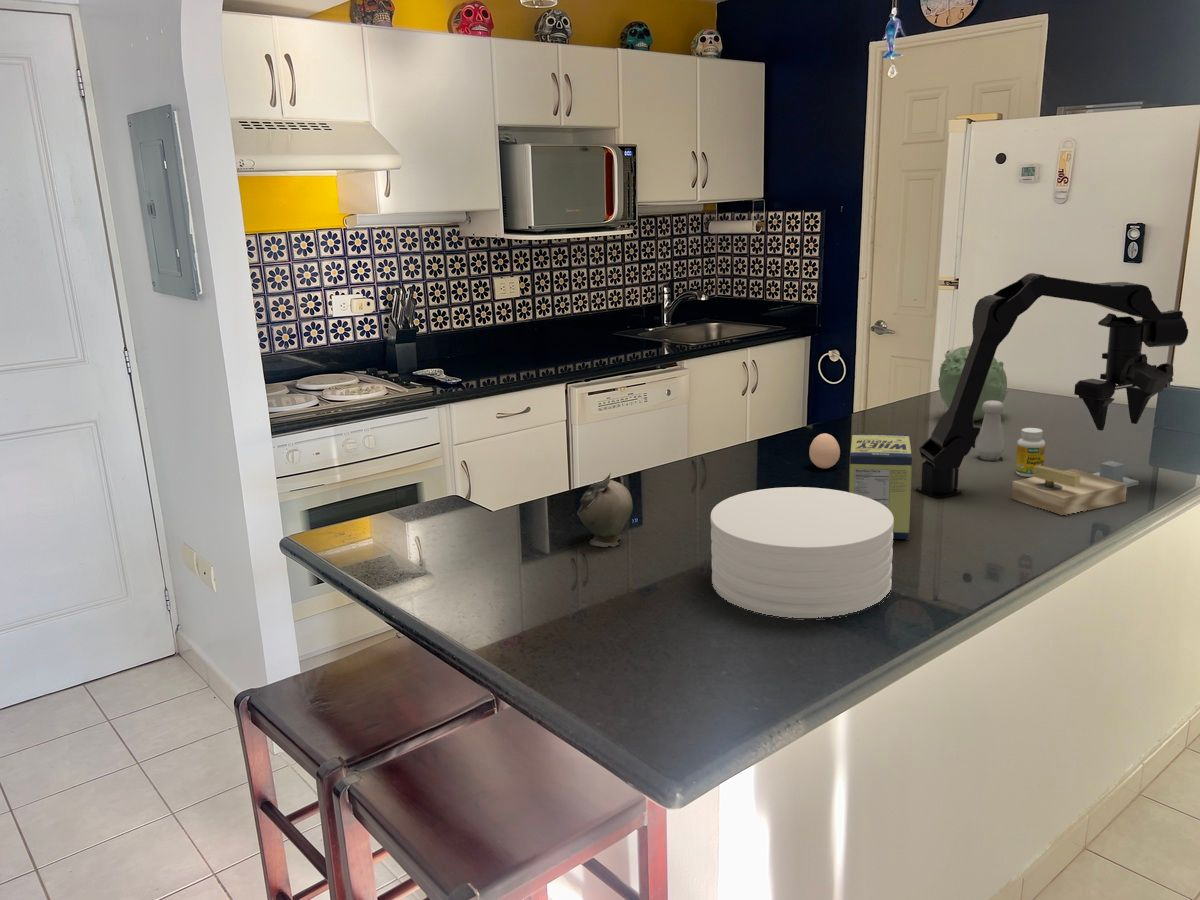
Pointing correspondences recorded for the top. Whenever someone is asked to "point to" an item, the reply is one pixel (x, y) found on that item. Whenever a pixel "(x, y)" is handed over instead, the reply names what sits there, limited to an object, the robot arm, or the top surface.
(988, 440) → the salt shaker
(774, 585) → the plate stack
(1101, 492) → the birch box
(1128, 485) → the lid
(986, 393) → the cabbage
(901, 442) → the protein box
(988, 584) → the top surface
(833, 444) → the egg
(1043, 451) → the supplement bottle
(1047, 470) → the tan wooden bar
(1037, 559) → the top surface
